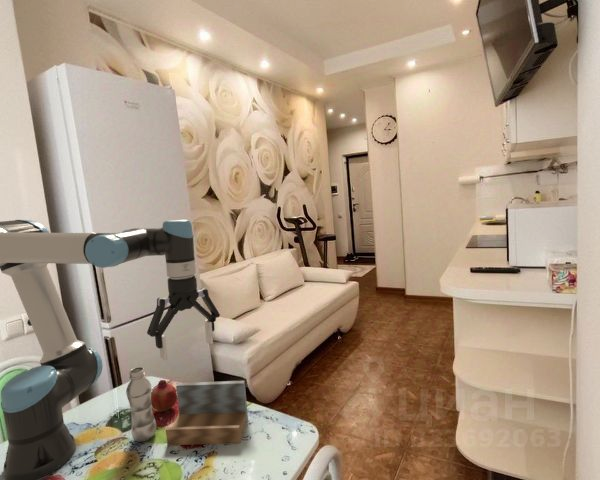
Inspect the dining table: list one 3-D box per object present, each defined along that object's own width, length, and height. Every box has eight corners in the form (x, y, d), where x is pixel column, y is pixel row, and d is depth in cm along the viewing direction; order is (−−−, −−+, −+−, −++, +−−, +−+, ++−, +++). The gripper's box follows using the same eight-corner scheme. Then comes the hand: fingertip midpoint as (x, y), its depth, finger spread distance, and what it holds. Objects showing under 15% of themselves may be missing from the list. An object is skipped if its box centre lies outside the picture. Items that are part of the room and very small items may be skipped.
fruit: (165, 400, 117) (162, 372, 116) (183, 405, 113) (180, 376, 112) (145, 414, 110) (142, 384, 108) (164, 420, 106) (160, 388, 105)
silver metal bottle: (161, 429, 101) (154, 364, 99) (149, 445, 95) (141, 376, 93) (141, 429, 102) (132, 364, 100) (127, 445, 95) (118, 376, 93)
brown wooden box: (167, 445, 94) (162, 403, 93) (182, 420, 105) (178, 383, 104) (240, 443, 93) (236, 401, 92) (248, 418, 104) (244, 380, 102)
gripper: (139, 287, 84) (147, 370, 87) (228, 270, 101) (233, 340, 104) (129, 283, 90) (136, 361, 92) (215, 267, 107) (219, 333, 109)
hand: (187, 350), depth 98 cm, fingers open, 13 cm apart
